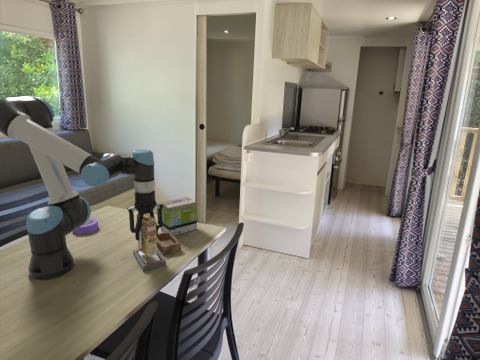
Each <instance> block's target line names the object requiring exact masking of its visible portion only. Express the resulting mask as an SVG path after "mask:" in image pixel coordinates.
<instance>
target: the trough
mask: <svg viewBox="0 0 480 360" xmlns="http://www.w3.org/2000/svg"><path fill="white" fill-rule="evenodd" d="M156 238H157V250H158V251H159V252H160V254H161V255H162V256H164V255H168V254H171V253H176V252H180V250H182V249H181V242H180V241H179V240H178V239H177V238H176V237H175V236H173V234H172V233H171V232H170V231H168V232H163V231H162V232H158V236H157V237H156Z"/></svg>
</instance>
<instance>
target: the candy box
mask: <svg viewBox="0 0 480 360" xmlns="http://www.w3.org/2000/svg"><path fill="white" fill-rule="evenodd" d="M137 217H138V213H137V214H136V218H137ZM156 220H157V219H156V217H155V218H153V217H151V216H150V215H149V214H148V213H146V214H144V215H143V218H142V222H141V227H140V232H141V235H142V248H141V249H140V247H139V246H138V245H137V249H139V250H141V251H142V252H143V253H144V254H145V255H146V256H148V257H150V256H153V255H156V254H157V250H158V248H157V238H156V223H157V221H156Z"/></svg>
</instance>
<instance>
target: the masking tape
mask: <svg viewBox="0 0 480 360" xmlns="http://www.w3.org/2000/svg"><path fill="white" fill-rule="evenodd" d="M97 230H99V220H98V219H97V218H95V217H89V219H88V220H87V221H86V222H85V223H84V224H83V225H82V226H80V227H78V228H77V229H75V230H74V231H72V232H71V233H73V232H74V233H73V234H75V233H76V234H75V235H86V234H91V233H93V232H96V231H97Z"/></svg>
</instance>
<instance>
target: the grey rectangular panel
mask: <svg viewBox="0 0 480 360" xmlns="http://www.w3.org/2000/svg"><path fill="white" fill-rule="evenodd" d="M138 255H139V256H140V258H141V260H142V261H143V263H144V264H148V263H152V261H160V259H159V257H158V256H157V255H153V256H150V257H148V256H146V255H145V254H144V253H143V252H142V251H139V252H138Z"/></svg>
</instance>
